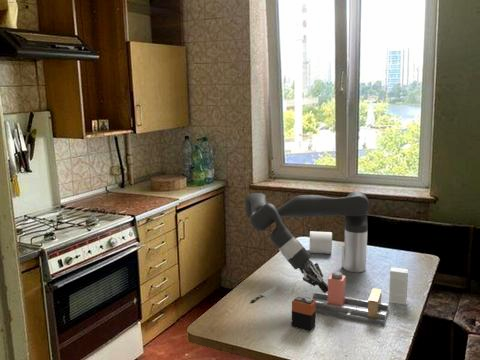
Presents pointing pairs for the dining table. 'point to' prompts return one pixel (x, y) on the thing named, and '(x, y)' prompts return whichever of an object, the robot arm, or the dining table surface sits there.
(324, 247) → the toilet paper
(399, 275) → the skincare box
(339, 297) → the pink dome-topped pillar
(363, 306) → the rail
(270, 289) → the chef's knife
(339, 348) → the dining table surface
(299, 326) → the battery
